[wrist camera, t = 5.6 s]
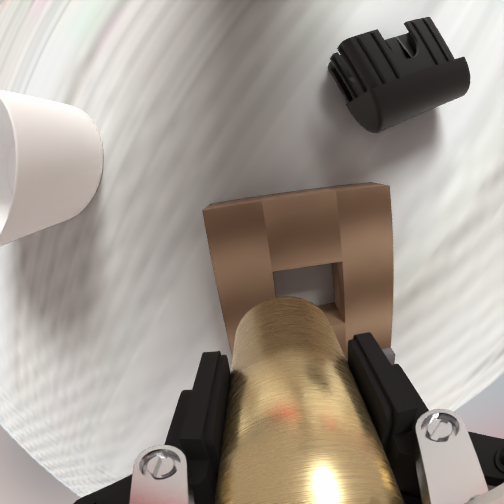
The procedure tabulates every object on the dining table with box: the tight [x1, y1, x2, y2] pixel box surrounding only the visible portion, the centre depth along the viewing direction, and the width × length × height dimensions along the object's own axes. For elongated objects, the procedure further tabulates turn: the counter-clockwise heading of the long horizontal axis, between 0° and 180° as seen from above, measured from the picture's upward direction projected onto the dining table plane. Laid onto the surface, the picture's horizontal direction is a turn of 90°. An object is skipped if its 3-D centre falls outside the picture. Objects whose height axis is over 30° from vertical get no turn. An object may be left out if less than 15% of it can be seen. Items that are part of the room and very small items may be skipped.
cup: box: [0, 90, 103, 246], centre depth 19 cm, size 12×12×12 cm
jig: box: [203, 182, 395, 365], centre depth 25 cm, size 16×14×5 cm
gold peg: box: [215, 297, 404, 504], centre depth 8 cm, size 4×4×10 cm
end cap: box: [328, 17, 470, 133], centre depth 20 cm, size 10×7×7 cm
